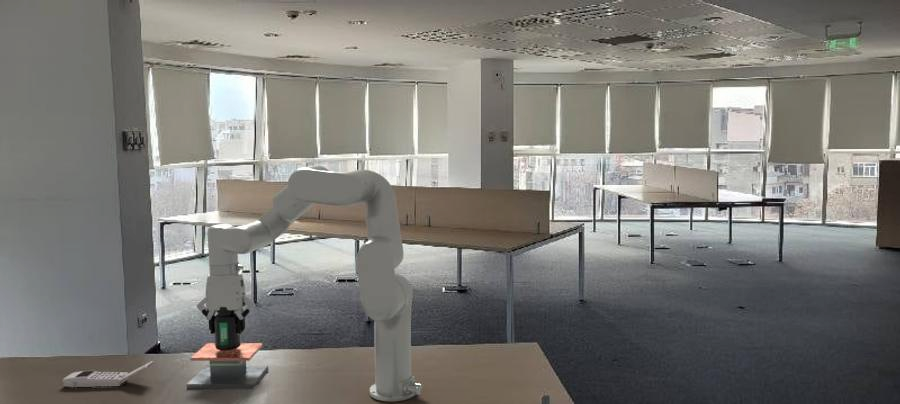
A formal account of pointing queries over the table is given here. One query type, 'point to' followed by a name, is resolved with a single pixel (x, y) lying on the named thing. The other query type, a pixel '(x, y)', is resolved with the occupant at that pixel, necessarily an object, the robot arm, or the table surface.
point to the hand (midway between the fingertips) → (227, 331)
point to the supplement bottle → (226, 330)
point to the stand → (227, 367)
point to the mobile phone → (100, 378)
